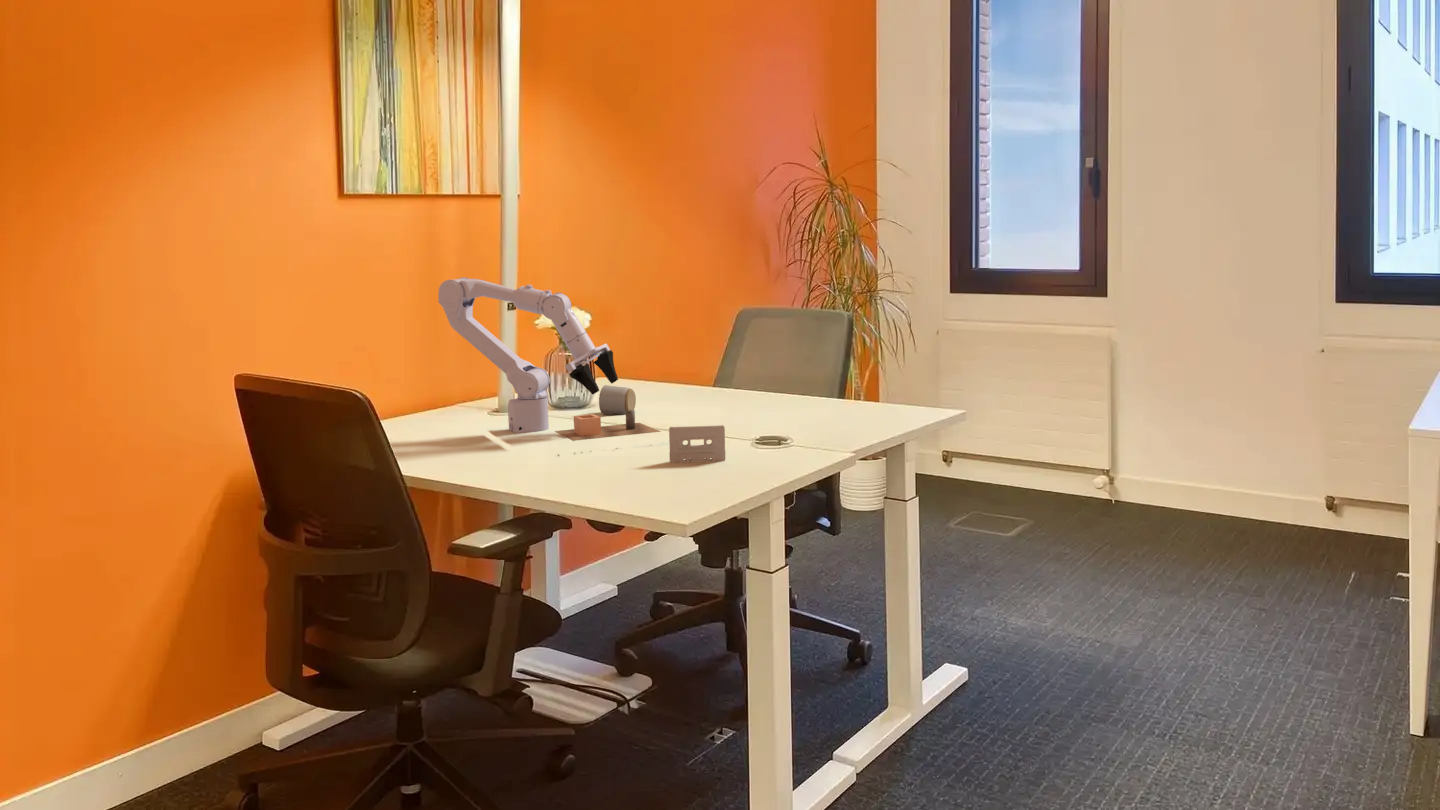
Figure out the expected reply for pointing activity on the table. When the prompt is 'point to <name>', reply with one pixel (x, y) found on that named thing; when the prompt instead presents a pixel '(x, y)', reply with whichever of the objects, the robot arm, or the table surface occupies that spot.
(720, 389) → the table surface
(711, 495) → the table surface
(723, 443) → the cassette
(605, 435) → the plate
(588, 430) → the collar
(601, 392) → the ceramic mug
